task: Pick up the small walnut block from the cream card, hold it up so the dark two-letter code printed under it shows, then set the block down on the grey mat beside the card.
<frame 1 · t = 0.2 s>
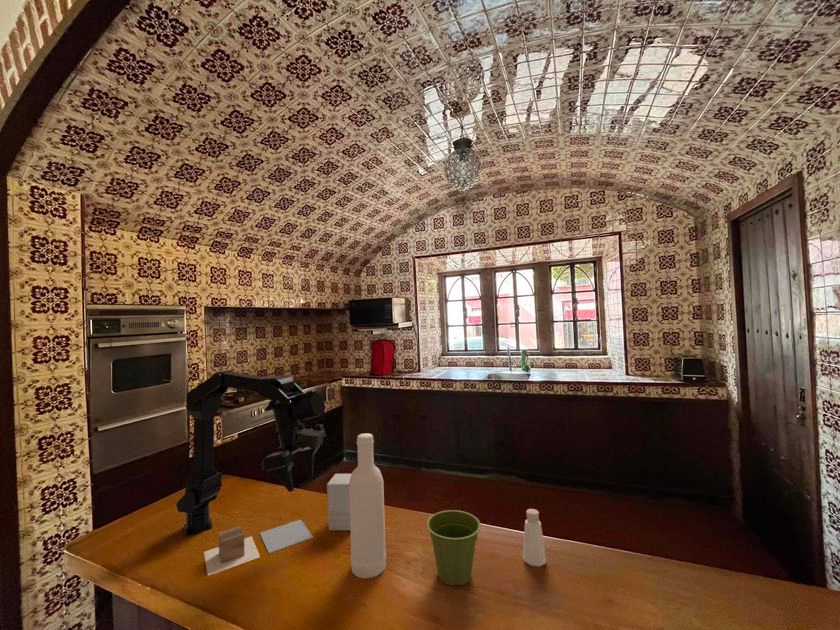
hand: (301, 483, 94), 15 cm above the countertop, tool pointing down, fingers open, 9 cm apart
salt shaker: (534, 560, 84), on the countertop
supplement box: (344, 524, 102), on the countertop
bottle: (368, 568, 83), on the countertop
walnut block: (231, 554, 90), resting on code card
grey mat: (286, 536, 97), on the countertop
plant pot: (455, 576, 80), on the countertop
code card: (231, 554, 90), on the countertop
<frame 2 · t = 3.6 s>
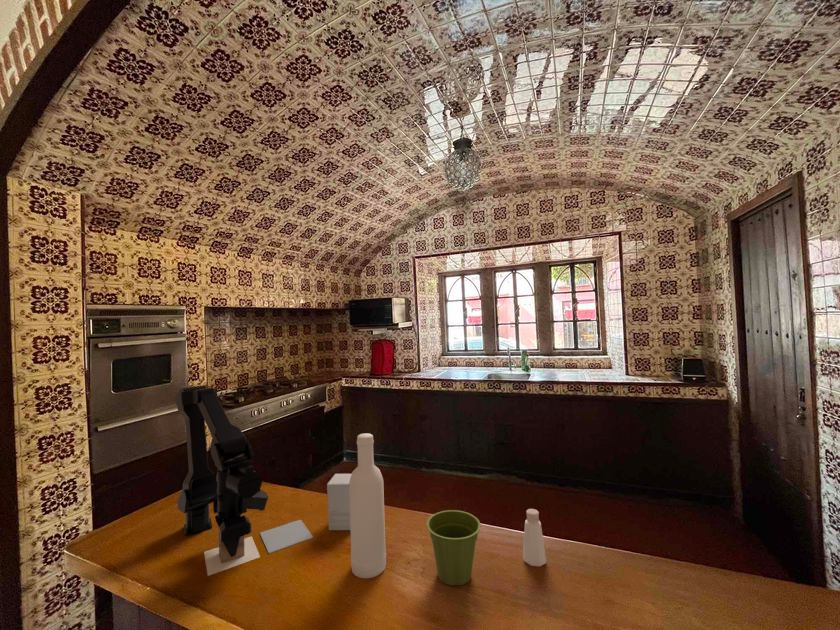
hand: (231, 550, 90), 1 cm above the countertop, tool pointing down, fingers closed on walnut block, 5 cm apart
walnut block: (231, 554, 90), resting on code card, touching gripper
everything else where it was.
when the fingers open (3 cm above the countertop, at t = 10.4 s): walnut block drops 1 cm, resting on grey mat.
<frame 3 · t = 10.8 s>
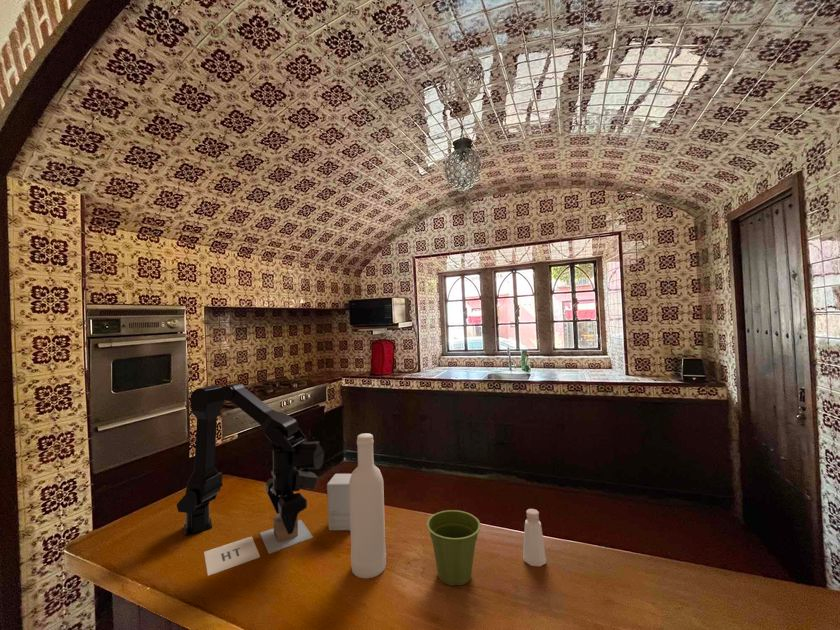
hand: (285, 525, 97), 3 cm above the countertop, tool pointing down, fingers open, 9 cm apart
walnut block: (285, 534, 97), resting on grey mat
everything else where it was.
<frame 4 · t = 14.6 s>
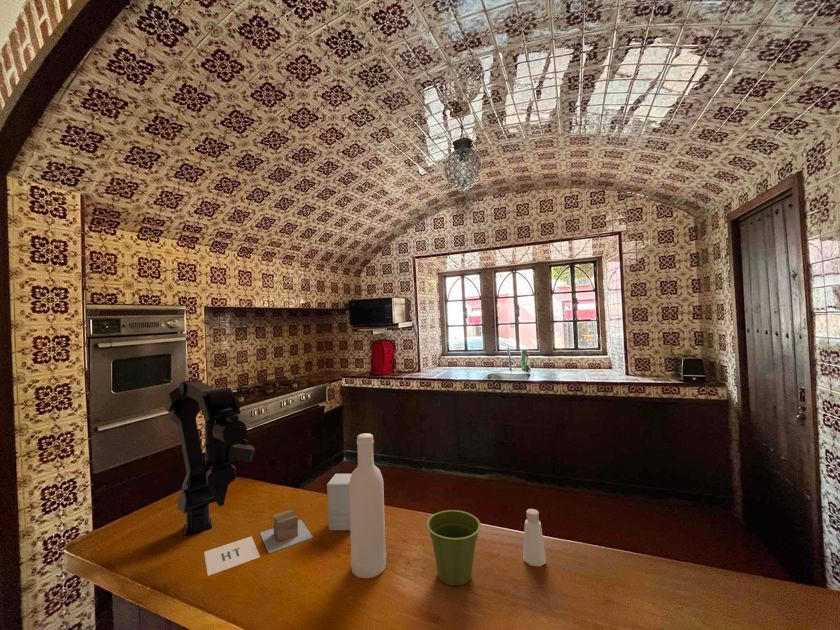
hand: (219, 498, 94), 12 cm above the countertop, tool pointing down, fingers open, 9 cm apart
nothing on the countertop moved.
at the end: walnut block inside the target area (0.0 cm from its centre), resting on grey mat; walnut block tilted 0°; the gripper is holding nothing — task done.
